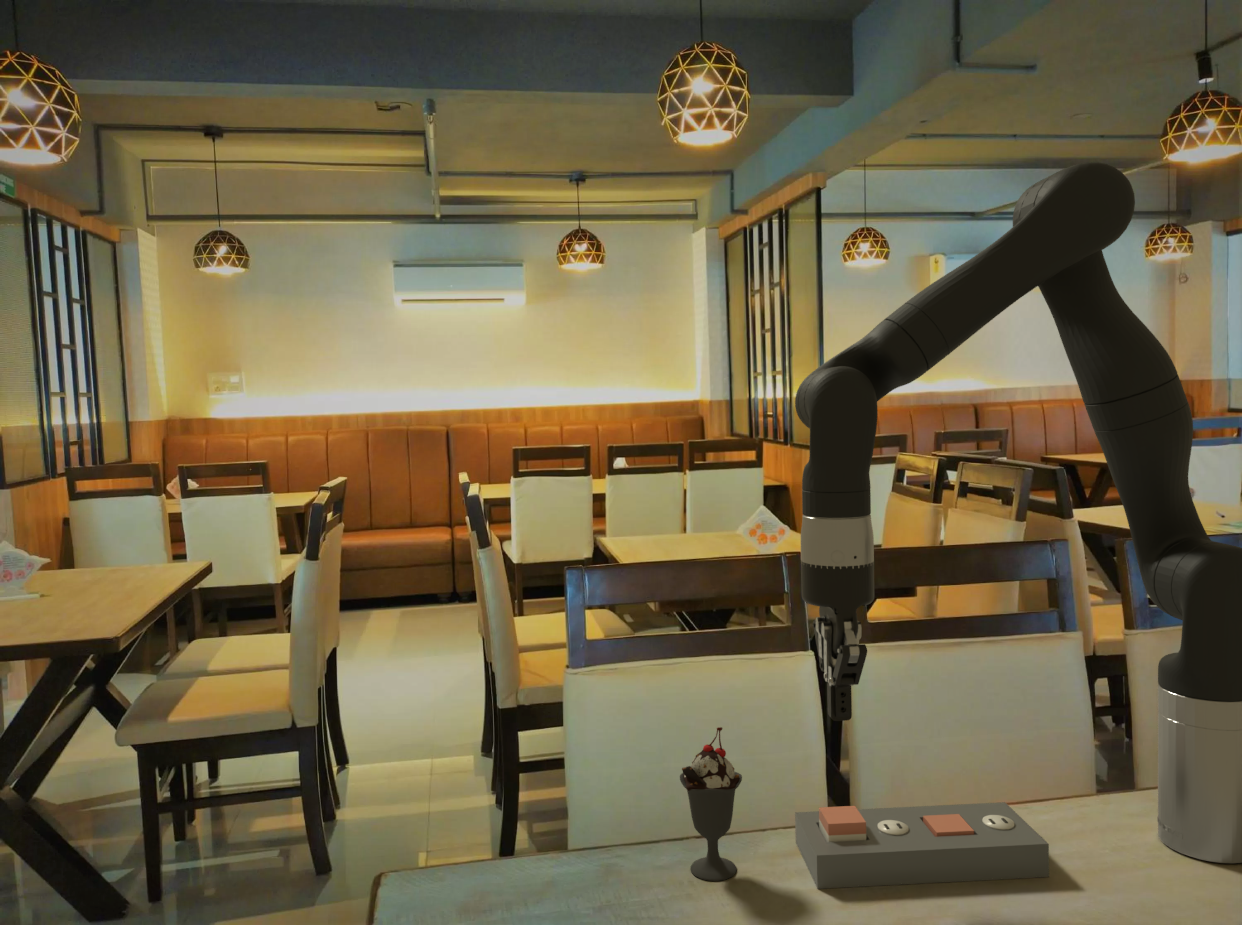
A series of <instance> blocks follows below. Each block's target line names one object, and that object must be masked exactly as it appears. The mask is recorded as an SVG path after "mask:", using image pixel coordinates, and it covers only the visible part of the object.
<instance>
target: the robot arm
mask: <svg viewBox="0 0 1242 925" xmlns="http://www.w3.org/2000/svg"><path fill="white" fill-rule="evenodd" d="M1135 205H1136V199H1135V191H1134V189H1133V186H1132V184H1131V182H1130V180H1129V178H1128V177H1127V176H1126V175H1125V174H1124V173H1123V172H1122V171H1121V170H1119V169H1118V168H1117V167H1115V166H1112V165H1110V164H1107V163H1102V162H1097V161H1096V162H1094V161H1093V162H1089V161H1088V162H1084V163H1077V164H1073V165H1071V166H1068V167H1065V168H1062V169H1060V170H1058V171H1056V172H1055V173H1053V174H1051V175H1049V176H1047V177H1045V178H1043V179H1042V180H1039V181H1038V182H1035V183H1034V184H1032V185H1031V186H1029V187H1028V188H1026V189H1025V190H1024V192H1022V193H1021V195H1020V196H1019V198H1018V200H1017V201H1016V204H1015V205H1014V209H1013V215H1012V227H1011V228H1010V229H1009V230H1008V231H1007V232H1006V233H1004V234H1003V235H1001V236H1000V237H999V238H998V239H997V240H995V241H994V242H993V243H991V244H990V245H989V246H987V247H986V248H985V249H983V250H982V251H980V252H979V253H977V254H976V255H974V256H973V257H971V258H970V259H968V260H967V261H965V262H963V263H962V264H960V265H959V266H957V267H956V268H954V269H952V270H951V271H949V272H947V273H946V274H945V275H943V276H941V277H940V278H939V279H938V278H937V280H936V281H934V282H932V283H931V284H929V285H928V286H927V287H925V288H924V289H922V290H920V291H919V292H918V293H917V294H915V295H914V296H913V297H911V298H910V299H908V300H906V301H905V302H904V303H903V304H901V306H899V307H897V308H896V310H895V311H893V312H892V313H891V314H889V315H888V316H887V317H885V318H884V319H882V321H880V322H879V323H878V324H877V325H875V327H873V329H872V330H870V331H869V332H868V333H867V334H866V335H864V337H862V338H861V339H860V340H858V341H856V342H855V343H853V344H851V345H850V346H848V347H847V348H845V349H844V350H842V351H841V352H839V353H838V354H835V355H834V356H833V357H832V358H830V359H828V360H827V361H826V362H824V363H823V364H821V365H820V366H818V367H817V368H815V369H814V370H813V371H812V372H811V373H809V375H807V376H806V377H805V378H804V379H803V380H802V381H801V383H800V385H799V387H798V389H797V390H796V394H795V399H794V400H795V401H794V406H795V412H796V414H797V416H798V418H799V420H800V421H801V423H802V424H803V425H804V426H805V427H807V428H808V429H809V457H808V462H807V463H806V464H805V466H804V468H803V472H802V477H801V478H802V479H801V480H802V481H801V501H802V502H801V503H802V504H801V509H802V511H801V512H802V513H801V514H802V520H801V521H802V522H801V529H800V574H801V575H800V583H801V584H800V585H801V598H802V601H804V602H805V603H807V604H808V605H811V606H815V607H819V608H818V612H819V613H818V614H819V616H816V617H815V619H813V622H812V628H813V631H814V632H813V633H814V636H815V644H816V649H817V655H818V661H819V668H820V671H821V672H824V673H823V679H824V681H825V682H826V687H827V689H826V690H827V691H826V692H827V695H826V696H827V697H826V698H827V715H828V716H829V718H831V720H832V721H834V722H840V721H841V722H843V721H849V720H851V719H852V717H853V713H852V710H853V709H852V708H853V707H852V705H853V704H852V702H853V700H852V686H857V685H859V683H860V680H861V675H862V674H863V673H862V672H863V669H864V666H865V662H866V658H867V656H868V655H867V654H868V647H867V645H866V644H862V643H861V644H860V640H861V638H862V623H861V621H859V620H858V613H857V609H858V608H860V607H863V606H868V605H870V604H871V603H872V602H874V601H875V557H874V556H875V545H874V544H875V543H874V542H875V540H874V530H873V525H872V515H871V513H872V508H871V506H872V504H871V503H872V501H871V500H872V498H871V496H872V495H871V479H870V478H871V477H870V470H871V464H872V461H873V455H874V448H875V443H876V442H875V441H876V435H877V428H878V427H877V426H878V415H879V414H878V402H879V401H880V400H881V399H883V398H885V396H887V395H888V394H890V393H891V392H892V391H893V390H896V389H898V388H900V387H903V386H906V385H909V384H911V383H912V382H914V381H915V380H917V379H919V378H920V377H922V376H924V374H926V373H927V372H928V371H929V370H931V369H932V368H933V367H935V366H936V365H938V363H940V362H941V361H942V360H944V359H945V358H946V357H947V356H949V355H951V353H953V352H954V351H955V350H957V348H959V347H960V346H961V345H963V343H965V342H966V341H967V340H968V339H970V338H971V337H972V336H974V335H975V334H976V333H977V332H979V331H980V330H981V329H982V328H984V327H985V326H986V325H987V324H989V323H990V322H991V321H992V320H993V319H995V318H996V317H997V316H999V315H1000V314H1001V313H1002V312H1004V311H1005V310H1007V309H1008V308H1009V307H1010V306H1011V305H1013V304H1014V303H1016V302H1017V301H1018V300H1020V299H1021V298H1022V297H1024V296H1025V295H1027V294H1028V293H1030V292H1031V291H1033V290H1034V289H1036V288H1037V287H1038V289H1039V291H1040V293H1041V295H1042V296H1043V298H1044V301H1045V302H1046V304H1047V306H1048V309H1049V311H1050V313H1051V317H1053V320H1054V324H1055V326H1056V329H1057V330H1058V333H1059V334H1058V335H1059V338H1060V340H1061V343H1062V345H1063V348H1064V351H1065V354H1066V357H1067V359H1068V362H1069V364H1070V366H1071V369H1072V372H1073V374H1074V378H1075V379H1076V380H1075V381H1076V383H1077V386H1078V389H1079V392H1080V396H1081V398H1082V402H1083V403H1084V404H1083V405H1084V406H1085V410H1086V413H1087V415H1088V418H1089V421H1090V424H1091V426H1092V429H1093V431H1094V434H1095V437H1096V439H1097V441H1098V442H1099V445H1100V448H1101V450H1102V453H1103V455H1104V458H1105V460H1106V461H1105V462H1106V464H1107V466H1108V470H1109V471H1110V475H1111V478H1112V481H1113V483H1114V486H1115V488H1116V491H1117V493H1118V496H1119V498H1120V501H1121V503H1122V507H1123V509H1124V510H1123V511H1124V512H1125V515H1126V516H1125V517H1126V520H1127V524H1128V527H1129V528H1128V529H1129V531H1130V536H1131V540H1132V543H1133V544H1132V545H1133V548H1134V552H1135V556H1136V557H1135V558H1136V560H1137V564H1138V565H1137V566H1138V570H1139V573H1140V576H1141V580H1142V583H1143V585H1144V589H1145V591H1146V593H1147V595H1148V597H1149V598H1150V600H1151V601H1152V603H1153V604H1154V605H1155V606H1156V607H1157V608H1158V609H1159V610H1161V611H1162V612H1163V613H1165V614H1167V615H1168V616H1169V617H1173V618H1175V619H1178V620H1180V621H1182V624H1181V640H1180V649H1179V650H1178V652H1172V653H1169V654H1165V655H1164V656H1162V657H1161V658H1160V660H1159V662H1158V665H1157V666H1158V667H1157V820H1156V821H1157V837H1158V839H1159V840H1160V841H1161V842H1162V843H1163V844H1164V845H1165V846H1167V847H1168V848H1170V849H1171V850H1173V851H1176V852H1178V853H1179V854H1182V855H1186V856H1188V857H1191V858H1194V859H1197V860H1200V861H1201V860H1202V861H1207V862H1211V863H1220V864H1242V547H1240V546H1237V545H1233V544H1228V543H1223V542H1218V541H1213V540H1211V539H1210V537H1209V535H1208V534H1207V532H1206V530H1205V528H1204V526H1203V523H1202V520H1201V519H1200V516H1199V514H1198V511H1197V508H1196V505H1195V504H1194V501H1193V498H1192V494H1191V489H1190V484H1189V483H1190V482H1189V471H1190V470H1189V469H1190V461H1191V456H1192V447H1193V439H1194V438H1193V436H1194V422H1193V421H1194V419H1193V414H1192V411H1191V406H1190V404H1189V401H1188V398H1187V396H1186V393H1185V392H1186V391H1185V389H1184V387H1183V385H1182V382H1181V381H1182V380H1181V379H1180V377H1179V374H1178V371H1177V369H1176V366H1175V364H1174V362H1173V360H1172V358H1171V356H1170V355H1169V353H1168V351H1167V350H1166V348H1165V347H1164V345H1163V344H1162V343H1161V342H1160V341H1159V340H1158V338H1157V337H1156V336H1155V334H1153V332H1152V331H1151V330H1150V329H1149V328H1148V326H1146V324H1145V323H1144V322H1143V321H1142V320H1141V319H1140V318H1139V317H1138V316H1137V315H1136V314H1135V313H1134V311H1132V309H1131V308H1130V307H1129V306H1128V304H1127V303H1126V302H1125V300H1124V299H1123V298H1122V296H1121V294H1120V293H1119V290H1118V289H1117V288H1116V285H1115V283H1114V281H1113V278H1112V276H1111V273H1110V270H1109V267H1108V265H1107V262H1106V259H1105V257H1104V252H1103V250H1105V249H1106V248H1108V247H1110V246H1111V245H1112V244H1113V243H1115V242H1116V241H1117V240H1118V239H1119V238H1121V236H1122V235H1123V234H1124V233H1125V231H1126V230H1127V229H1128V227H1129V225H1130V223H1131V221H1132V218H1133V216H1134V213H1135Z"/></svg>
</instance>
